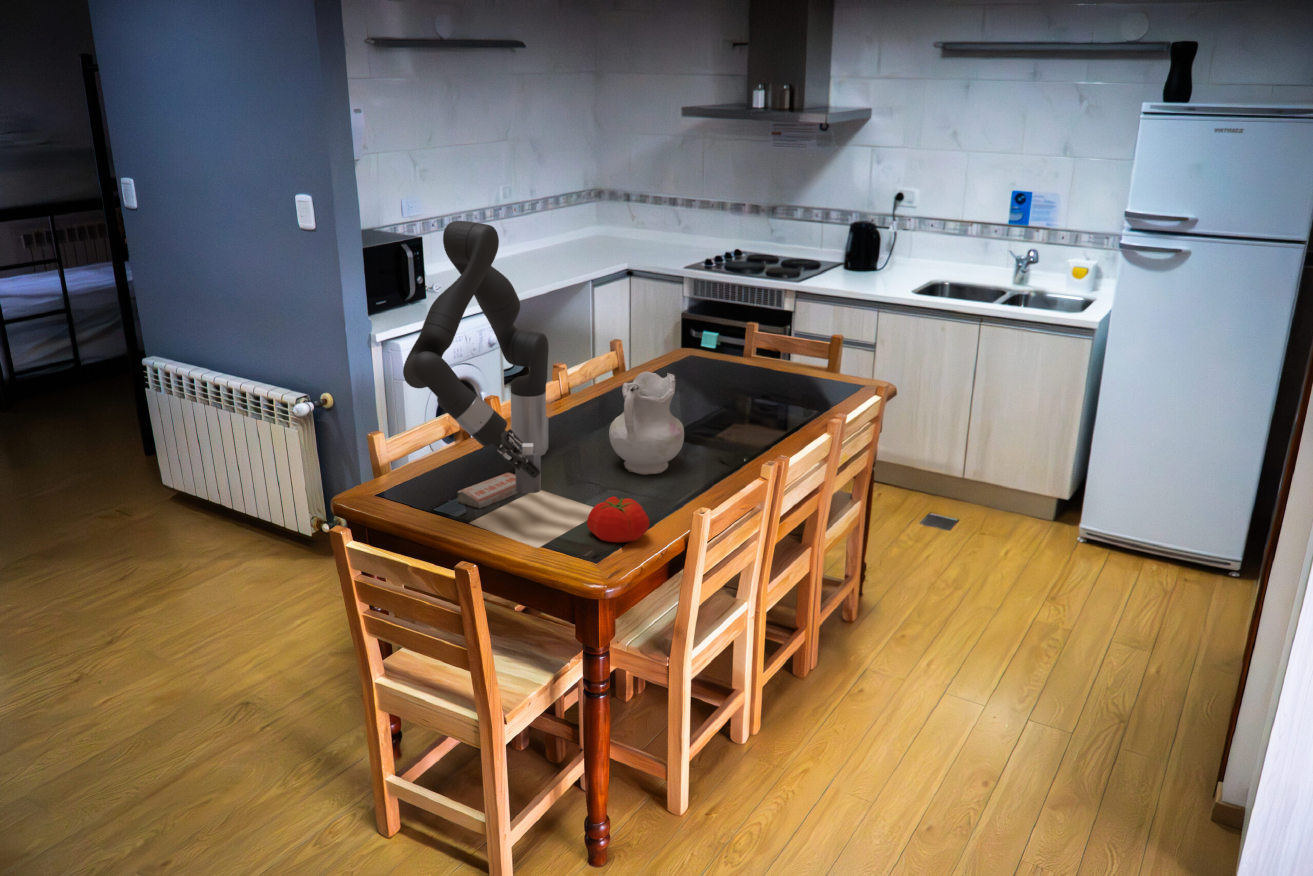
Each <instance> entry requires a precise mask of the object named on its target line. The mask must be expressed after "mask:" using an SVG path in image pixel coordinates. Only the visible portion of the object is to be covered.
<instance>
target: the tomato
mask: <svg viewBox="0 0 1313 876" xmlns="http://www.w3.org/2000/svg"><path fill="white" fill-rule="evenodd" d="M586 525H587V529H588V530H589V531H590V532H591V533H592V534H593V535H594V536H596V537H597V538H598V539H600V540H601V541H604V542H607V543H617V544H618V543H620V544H623V543H630V542H635V541H636V540H638V539H641V538H642V537H643V536H644V535H645V533H646V532H647V531H648V529H649V527H650V519H649V517H648V515H647V513H646V511H644V508H643V506H642V505H641V504H639V502H637V501H636V500H634V499H633V498H624V497H621V498H620V499H619V498H618V497H616V496H611V497H608V498H607V499H605V500H603V501H602V502H599V503H597V504H596V505H595V506H594V508H593V509H592V510H591V512H590V513H589V516H588V520H587V521H586Z"/></svg>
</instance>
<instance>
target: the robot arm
mask: <svg viewBox="0 0 1313 876" xmlns="http://www.w3.org/2000/svg"><path fill="white" fill-rule="evenodd" d="M442 235H443V236H442V244H443V248H444V251H445V254H446V256H447V258H448V259H449V261H450V262H451V264H452V265H453V266H454V267H455V269H456V270H457V271H458V273H459V275H460V276H458V278H456V280H455V281H454V282H453V283H452V284H451V285H450V286H448V287H447V288H445V290H443V292H441V294H440V295H438V297H436V299H435V300H434V301H433V303H432V304H431V306H430V307H429V310H428V312H427V315H426V317H425V320H424V322H423V325H422V326H421V327H422V328H421V329H420V334H419V335H418V338H417V339H416V341H415V342H414V344H413V346H412V347H411V350H410V351H409V354H408V355H407V357H406V359H405V361H404V364H403V367H402V368H403V369H402V376H403V378H404V381H405V382H406V383H407V385H409V387H412V388H415V389H426V388H428V389H429V390H430V391H431V392H432V393H433V394H434V395H435V397H436V398H437V399H436V401H437V402H436V403H437V404H438V405H439V407H440V408H441V409H442V410H444V411H445V413H447V414H448V415H449V416H450V417H451V418H453V420H455V422H456V423H457V424H458V425H459V426H460V427H461V428H462V429H463V430H464V431H465V432H467V433H468V434H469V435H470V436H471V437H472V438H473V439H475V440H476V441H477V442H478V443H479V444H480V445H481V446H482V447H484V448H488V447H490V446H491V445H494V447H495V449H496V451H497V452H498V453H499V454H501V455H500V457H499V458H500V459H501V460H502V461H504V462H505V463H506V464H508V465H510V466H512V467H513V468H516V469H518V470H519V469H520V468H522V469H524V470H525V471H526V472H527V473H528V474H529V475H530V476H531V477H533V478H535V477H537V476H538V475H539V474H540V470H539V469H538V468H537V467H536V466H535V465H534V464H532V463H531V462H530V461H529V460H528V459H527V458H526V457H525V456H524V455H523V454H522V443H533V451H539V452H540V453H541V457H542V455H543V456H545V455H546V453H547V451H549V417H548V416H547V382H548V369H549V368H548V366H549V365H548V364H549V350H550V349H549V340H548V338H547V336H546V335H545V334H544V333H543V332H542V333H541V332H537V331H530V330H522V329H518V328H517V327H516V326H515V322H516V320H517V318H518V316H519V313H520V310H521V302H520V298H519V296H518V293H517V292H516V289H515V288H514V286H513V284H512V282H511V281H510V280H509V279H508V278H507V277H506V276H505V275H504V274H503V273H501V272H500V271H499V270H497V269H496V268H495V267H493V266H492V265H493V263H494V261H495V258H496V256H497V253H498V250H499V245H500V239H499V234H498V231H497V230H496V229H495V227H494V226H492V225H490V224H486V223H482V222H481V223H480V222H473V221H465V220H456V221H452V222H449V223H448V224H447V225H446V227H445V228H444V230H443V233H442ZM473 297H474V298H475V299H476V302H477V304H478V306H479V308H480V310H481V311H482V312H483V315H484V316H485V318H486V319H487V321H488V324H489V325H490V326H491V329H492V331H493V332H494V334H495V338H496V340H497V342H498V345H499V347H500V350H501V353H502V356H503V357H504V359H505V361H506V362H507V363H508V364H509V365H513V366H515V367H516V366H517V367H523V368H529V370H528V371H529V373H528V374H525V375H522V376H518V377H515V378H514V379H512V380H511V382H510V428H509V429H508V430H507V426H508V422H507V419H505V418H504V417H503V416H501V414H500V413H498V411H496V410H495V409H494V408H493V407H492V406H491V405H489V404H488V403H487V402H486V401H485V400H483V399H482V398H481V397H479V396H478V395H476V393H474V392H473V390H471V389H470V388H468V386H466V385H465V384H464V383H463V382H462V380H461V379H460V378H459V376H458V375H457V374H456V372H454V370H453V369H452V367H451V366H450V364H448V363H447V362H446V360H445V359H443V355H444V354H445V352H446V351H447V350H448V349H449V348H450V346H451V345H452V343H453V342H454V339H455V337H456V335H457V332H458V328H459V327H460V324H461V322H462V321H461V320H462V318H463V317H464V315H465V311H466V310H467V307H468V306H469V304H470V303H471V301H472V299H473ZM516 452H517V453H516ZM518 460H519V461H520V462H518Z"/></svg>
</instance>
